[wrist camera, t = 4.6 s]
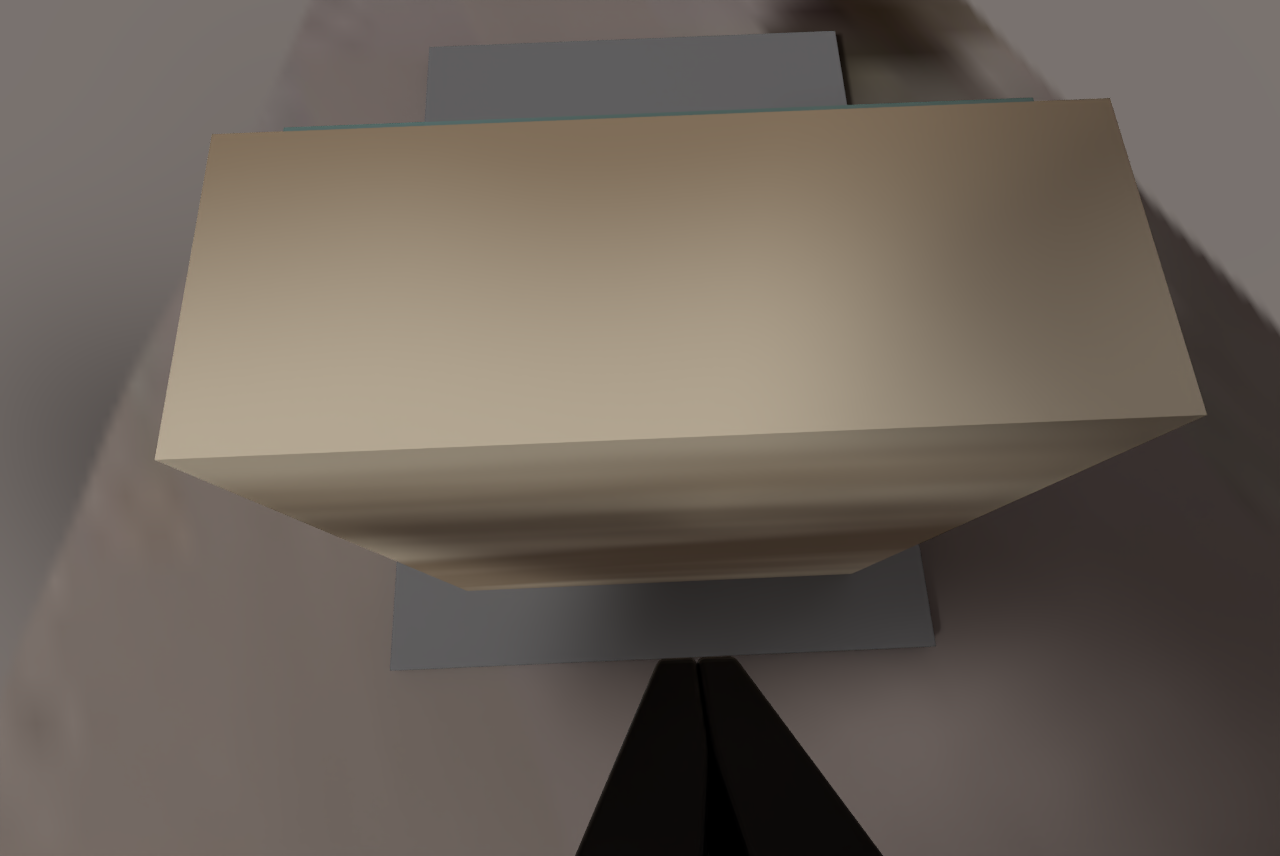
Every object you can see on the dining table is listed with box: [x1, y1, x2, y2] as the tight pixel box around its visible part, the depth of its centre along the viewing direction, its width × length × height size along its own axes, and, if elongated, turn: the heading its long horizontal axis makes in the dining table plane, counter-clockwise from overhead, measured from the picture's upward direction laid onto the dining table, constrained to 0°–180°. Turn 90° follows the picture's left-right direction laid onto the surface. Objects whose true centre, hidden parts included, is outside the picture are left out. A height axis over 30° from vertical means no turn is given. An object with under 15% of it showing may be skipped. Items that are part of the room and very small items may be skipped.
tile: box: [155, 98, 1207, 591], centre depth 11 cm, size 3×8×10 cm, turn 93°
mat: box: [390, 31, 936, 670], centre depth 17 cm, size 16×11×1 cm
